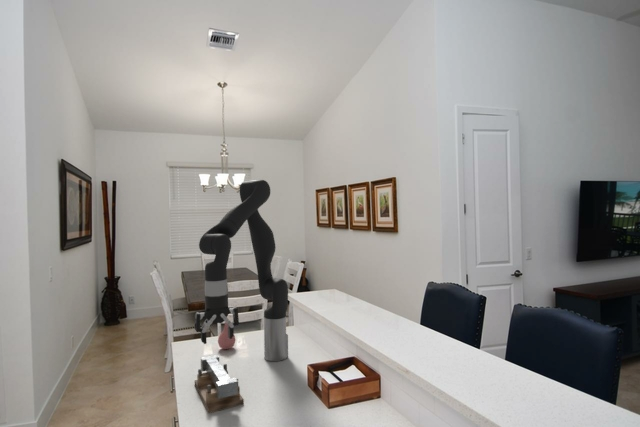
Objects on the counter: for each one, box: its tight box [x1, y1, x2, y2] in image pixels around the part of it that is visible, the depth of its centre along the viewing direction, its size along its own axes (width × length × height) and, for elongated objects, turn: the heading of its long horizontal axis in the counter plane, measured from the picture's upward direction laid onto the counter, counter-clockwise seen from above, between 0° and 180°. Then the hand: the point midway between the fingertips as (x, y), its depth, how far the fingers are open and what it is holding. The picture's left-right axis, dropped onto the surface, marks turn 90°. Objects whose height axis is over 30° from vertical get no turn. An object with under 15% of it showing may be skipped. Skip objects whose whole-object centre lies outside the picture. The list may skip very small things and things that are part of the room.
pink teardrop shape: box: [217, 321, 236, 350], centre depth 170 cm, size 8×8×12 cm
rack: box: [194, 363, 245, 414], centre depth 127 cm, size 11×22×6 cm, turn 29°
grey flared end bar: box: [200, 354, 239, 399], centre depth 128 cm, size 6×26×4 cm, turn 29°
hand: (217, 340), depth 127 cm, fingers open, 8 cm apart
